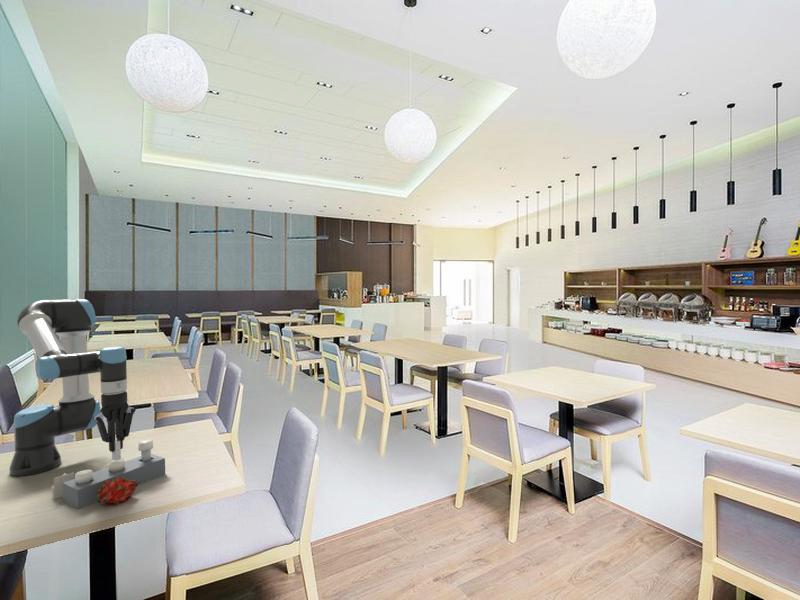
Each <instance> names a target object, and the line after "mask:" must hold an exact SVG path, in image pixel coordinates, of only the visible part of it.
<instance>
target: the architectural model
mask: <svg viewBox="0 0 800 600" xmlns="http://www.w3.org/2000/svg"><path fill="white" fill-rule="evenodd" d="M72 479H75V472H74V471H73V472H70V473H66V472H64V473H63V474H62V475H59V476H57V477H53V482H52V483H51V485H52V486H51V496H52V497H51V498H52V499H53V500H57V499H59V498H63V483H64V482H67V481H70V480H72Z"/></svg>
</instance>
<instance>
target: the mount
mask: <svg viewBox="0 0 800 600" xmlns="http://www.w3.org/2000/svg"><path fill="white" fill-rule="evenodd" d="M164 475H166V458H165V457H163V456H160V455H157V454H154V453H151V460H149V461H146V462H142V460H141V455H139V456H137V457H134V458H131V459H128V460H125V468H124V469H122V470H121V471H119V472H116V473H112V471H109V466H108V467H105V468H102V469H99V470H95V471H93V479H92V480H90V482H88V483H85V484H82V485H79V483H75V478H74V479H72V480H70V481H67V482H64V483H63V497H62V501H63V502H65V503H67V504H68V505H70V506H72V507H73V508H76V509H82V508H84V507H86V506H88V505H91V504H94V503H96V502H99V500H101V499H100V498H97V496H96V495H97V490H98V489H99V488H100V487H101V485H103V484H106V482H105V481H111V480H113V479H115V478H117V479H120V478H121V477H124V478H125V480H135V481H136V482H137V483H138V486H139V485H142V484H144V483H147V482H150V481H151V480H155V479H157V478H159V477H162V476H164ZM137 483H136V484H137ZM101 501H102V500H101Z"/></svg>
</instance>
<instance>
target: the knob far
mask: <svg viewBox="0 0 800 600" xmlns="http://www.w3.org/2000/svg"><path fill="white" fill-rule="evenodd" d="M137 445H138V451H139V452H140V453H141V454H140V456H141V460H142V462H146V461H149V460H151V454H152V449H153V448H154V439H144V440H140V441H139V442H138V444H137Z"/></svg>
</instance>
